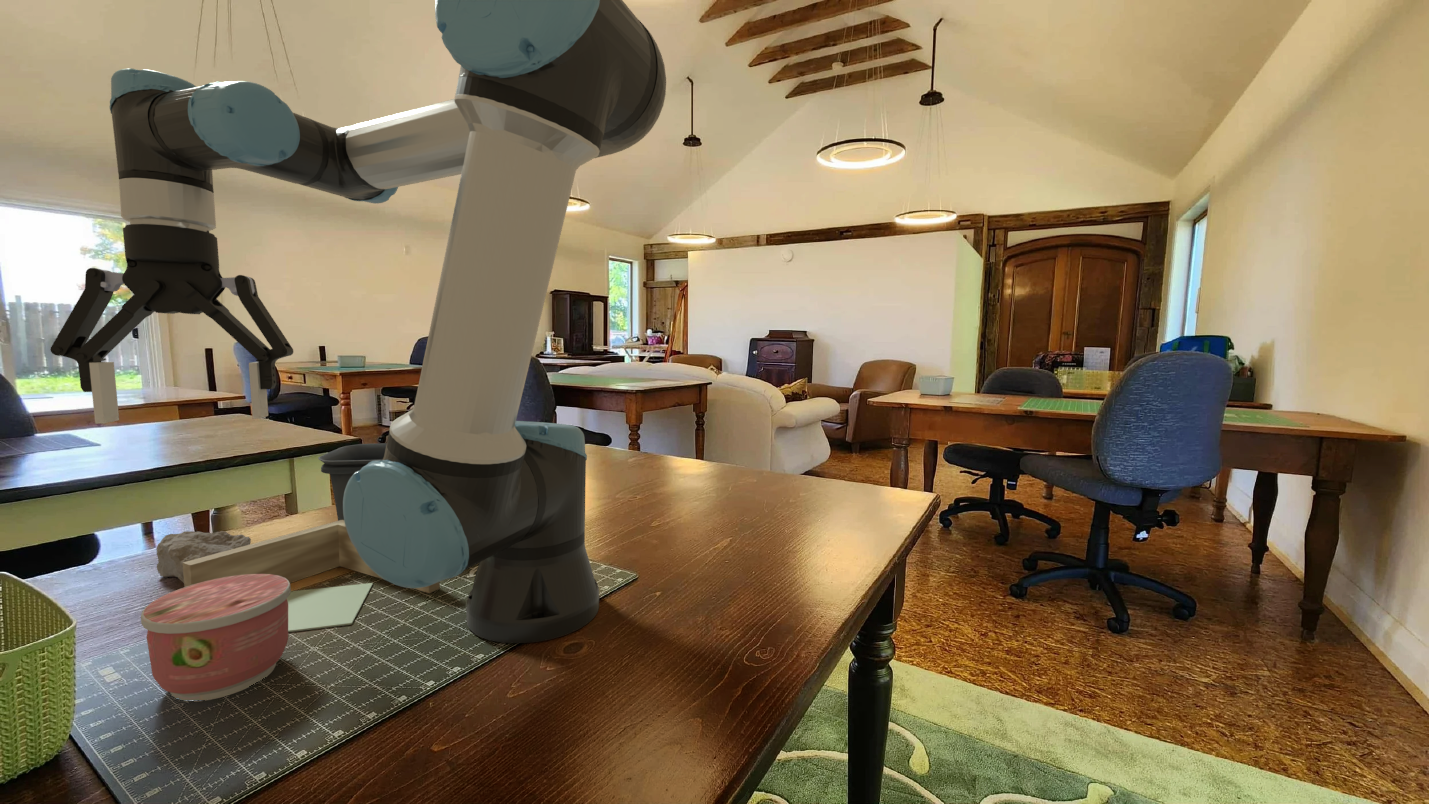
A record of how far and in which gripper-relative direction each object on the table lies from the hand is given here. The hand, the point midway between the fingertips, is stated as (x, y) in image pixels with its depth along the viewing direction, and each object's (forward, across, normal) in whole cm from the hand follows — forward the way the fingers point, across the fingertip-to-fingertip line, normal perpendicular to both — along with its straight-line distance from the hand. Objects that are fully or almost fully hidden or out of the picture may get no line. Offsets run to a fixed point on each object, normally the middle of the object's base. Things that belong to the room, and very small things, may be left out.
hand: (187, 420), depth 64 cm
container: (+23, -8, +17) cm, 30 cm away
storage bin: (+23, -19, -21) cm, 36 cm away
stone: (+22, +4, -11) cm, 25 cm away
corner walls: (+22, -13, +3) cm, 26 cm away
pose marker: (+22, -12, +4) cm, 26 cm away
